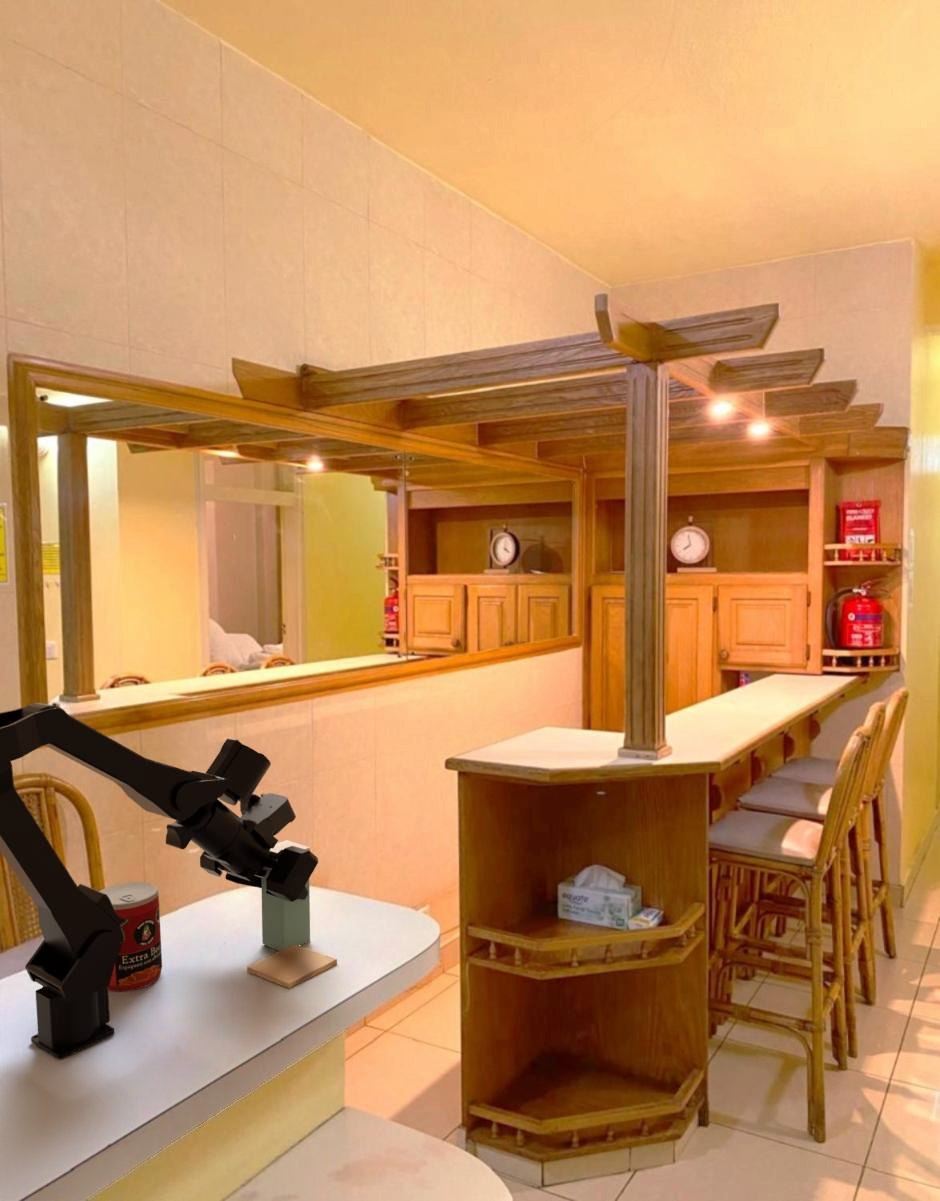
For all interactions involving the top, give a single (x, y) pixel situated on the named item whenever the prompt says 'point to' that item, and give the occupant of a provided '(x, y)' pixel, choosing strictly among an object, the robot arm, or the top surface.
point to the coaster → (291, 965)
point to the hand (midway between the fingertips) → (294, 892)
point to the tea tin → (284, 914)
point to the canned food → (136, 935)
